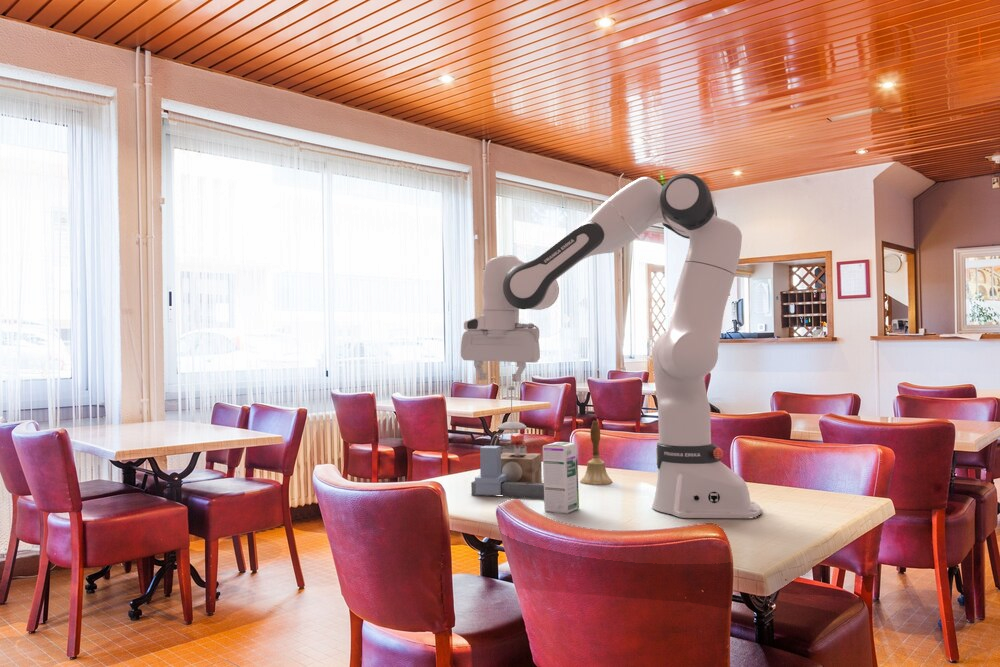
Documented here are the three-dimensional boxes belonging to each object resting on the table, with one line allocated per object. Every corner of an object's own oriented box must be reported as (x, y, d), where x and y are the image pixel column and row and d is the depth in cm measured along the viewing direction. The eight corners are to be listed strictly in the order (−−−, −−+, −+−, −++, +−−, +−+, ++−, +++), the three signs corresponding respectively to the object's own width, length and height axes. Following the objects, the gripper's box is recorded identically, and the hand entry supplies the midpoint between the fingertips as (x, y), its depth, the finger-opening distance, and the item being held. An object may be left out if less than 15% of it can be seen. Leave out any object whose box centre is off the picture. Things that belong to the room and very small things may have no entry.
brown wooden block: (541, 484, 193) (541, 453, 193) (531, 492, 183) (531, 459, 183) (504, 483, 196) (504, 452, 196) (492, 490, 186) (492, 458, 186)
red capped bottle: (525, 466, 191) (525, 434, 191) (522, 468, 188) (521, 436, 188) (512, 465, 192) (512, 434, 192) (509, 467, 189) (508, 436, 189)
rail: (559, 496, 178) (559, 483, 178) (556, 498, 175) (556, 485, 175) (475, 492, 184) (475, 480, 184) (471, 495, 181) (471, 482, 181)
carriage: (506, 490, 184) (506, 445, 184) (499, 495, 177) (498, 449, 178) (483, 489, 185) (482, 444, 186) (475, 494, 179) (474, 448, 179)
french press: (538, 477, 204) (536, 385, 205) (504, 482, 198) (502, 387, 198) (515, 472, 212) (514, 384, 213) (482, 477, 205) (481, 386, 206)
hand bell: (614, 484, 192) (613, 422, 192) (581, 485, 192) (581, 422, 192) (610, 479, 200) (609, 419, 201) (579, 479, 200) (578, 419, 201)
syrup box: (567, 514, 159) (566, 445, 159) (543, 511, 162) (542, 444, 163) (579, 509, 164) (578, 442, 164) (555, 506, 167) (554, 441, 167)
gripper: (545, 323, 178) (543, 382, 178) (471, 323, 188) (470, 378, 188) (533, 322, 173) (532, 382, 173) (457, 322, 183) (456, 379, 182)
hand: (499, 380), depth 180 cm, fingers open, 8 cm apart
